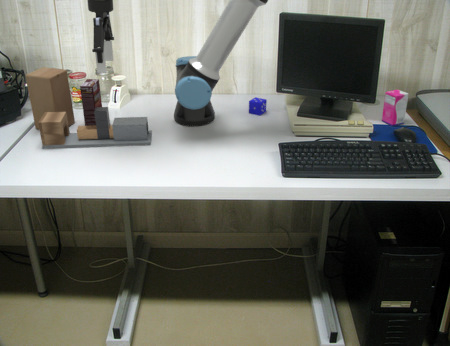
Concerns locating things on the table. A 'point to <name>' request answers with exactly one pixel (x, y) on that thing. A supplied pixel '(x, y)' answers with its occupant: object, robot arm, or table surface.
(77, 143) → the base board
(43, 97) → the wooden block
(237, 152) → the table surface
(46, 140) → the socket block
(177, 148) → the table surface
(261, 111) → the die
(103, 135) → the brown piece
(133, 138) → the sleeve
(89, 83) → the supplement box
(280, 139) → the table surface
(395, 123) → the supplement box
